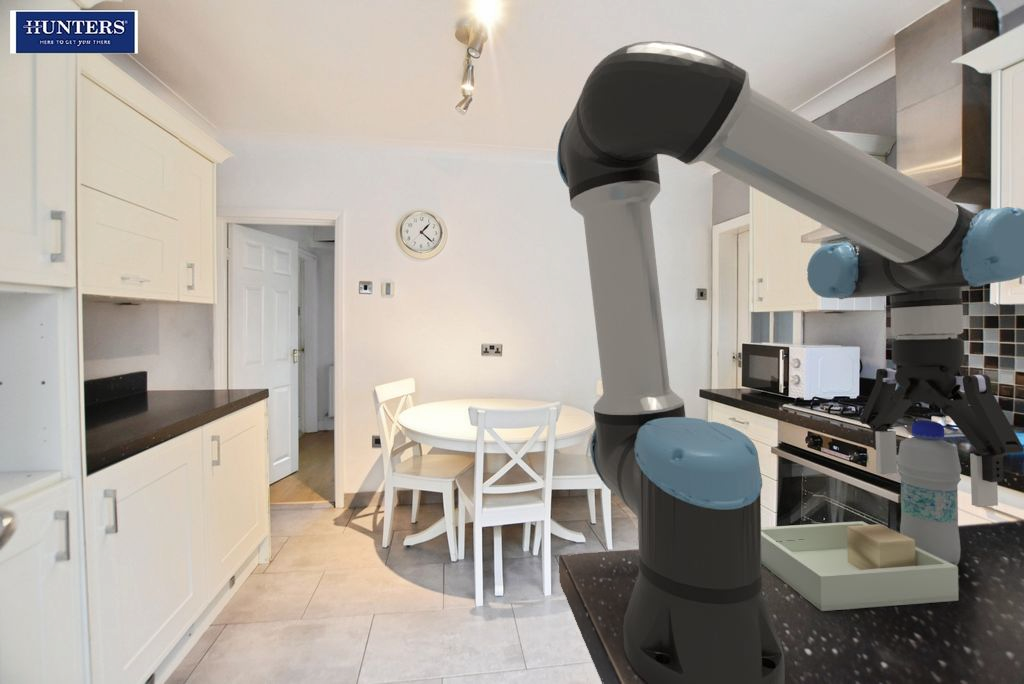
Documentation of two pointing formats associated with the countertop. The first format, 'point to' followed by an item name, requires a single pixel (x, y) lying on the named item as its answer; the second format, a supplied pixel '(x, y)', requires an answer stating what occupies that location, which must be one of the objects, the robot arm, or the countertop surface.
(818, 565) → the tote
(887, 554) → the cube
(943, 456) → the bottle
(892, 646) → the countertop surface
